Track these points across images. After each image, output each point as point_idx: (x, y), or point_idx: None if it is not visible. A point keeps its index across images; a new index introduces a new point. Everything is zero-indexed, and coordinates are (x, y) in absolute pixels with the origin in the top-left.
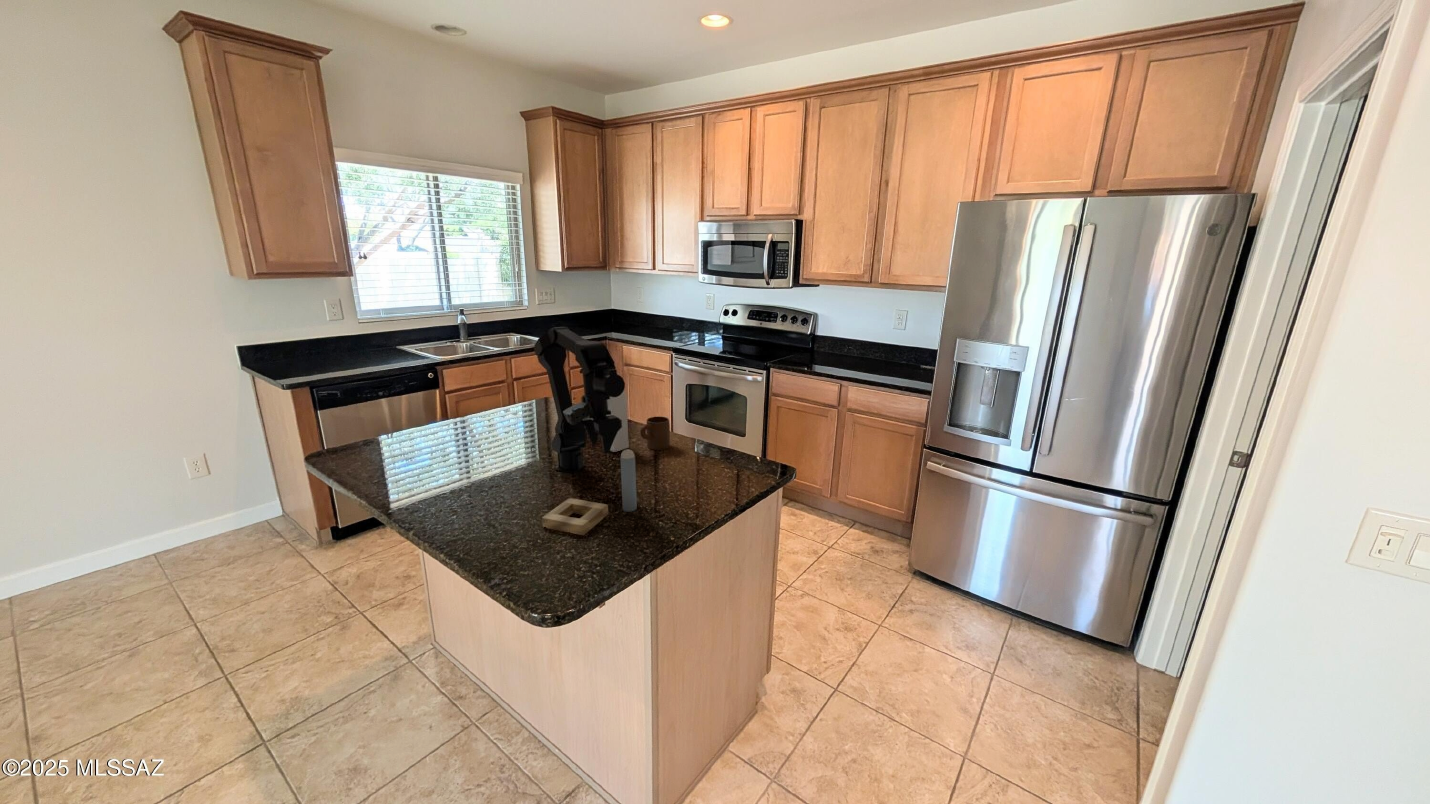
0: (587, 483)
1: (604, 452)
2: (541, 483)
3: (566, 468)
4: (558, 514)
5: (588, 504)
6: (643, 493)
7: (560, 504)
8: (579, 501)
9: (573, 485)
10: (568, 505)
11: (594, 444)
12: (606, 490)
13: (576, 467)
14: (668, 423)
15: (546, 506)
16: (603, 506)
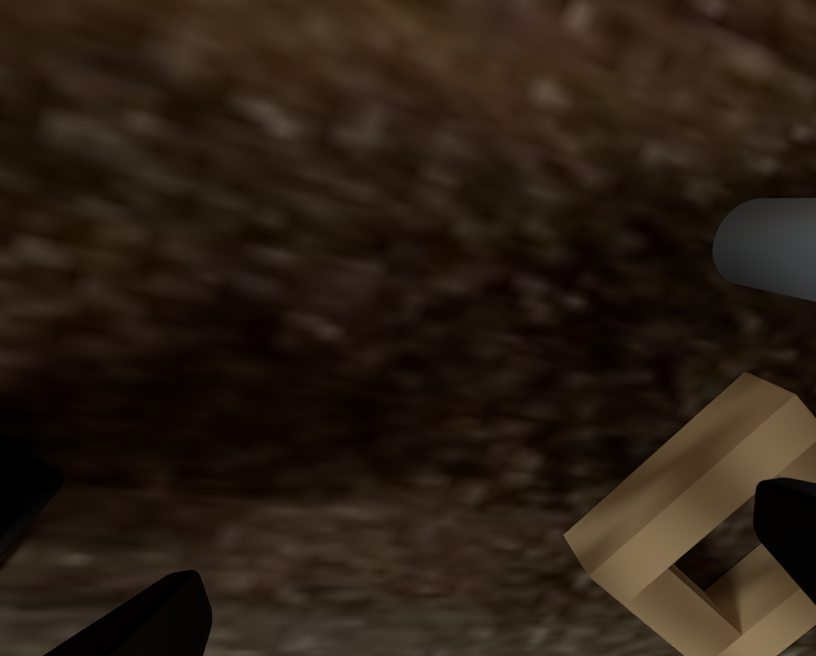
0: (279, 413)
1: (778, 548)
2: None
3: (2, 532)
4: (735, 628)
5: (725, 492)
6: (605, 83)
7: (641, 619)
8: (662, 532)
9: (281, 494)
10: (676, 585)
11: (204, 594)
12: (442, 318)
13: (4, 470)
14: None
15: (500, 630)
16: (799, 420)
